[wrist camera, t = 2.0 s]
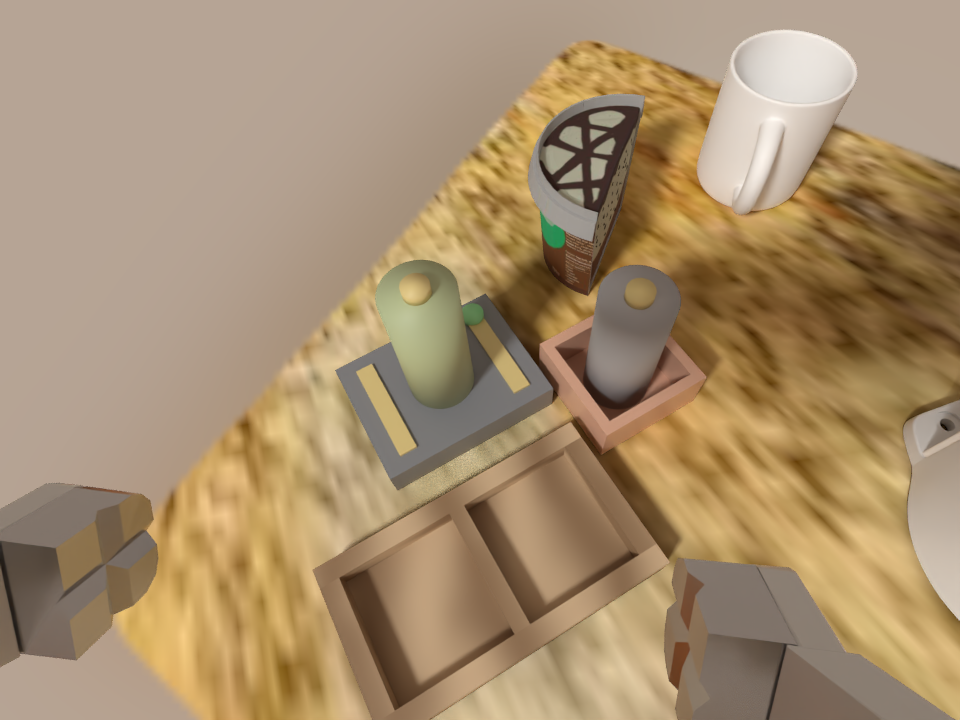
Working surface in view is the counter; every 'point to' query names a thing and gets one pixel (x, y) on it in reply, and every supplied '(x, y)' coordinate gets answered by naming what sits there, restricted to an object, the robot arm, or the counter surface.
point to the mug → (773, 117)
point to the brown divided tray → (484, 577)
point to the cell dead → (629, 334)
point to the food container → (583, 182)
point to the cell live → (427, 331)
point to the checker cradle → (452, 431)
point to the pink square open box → (611, 427)
